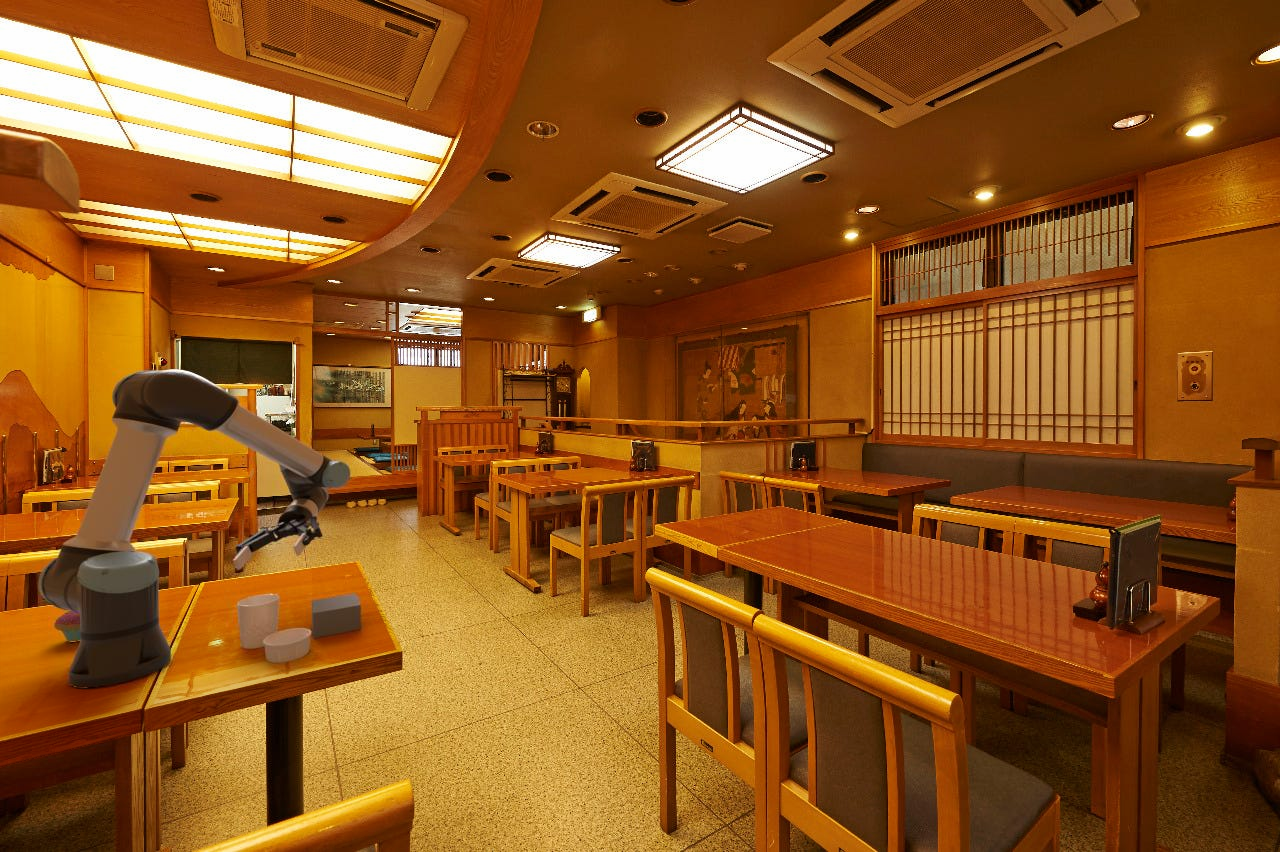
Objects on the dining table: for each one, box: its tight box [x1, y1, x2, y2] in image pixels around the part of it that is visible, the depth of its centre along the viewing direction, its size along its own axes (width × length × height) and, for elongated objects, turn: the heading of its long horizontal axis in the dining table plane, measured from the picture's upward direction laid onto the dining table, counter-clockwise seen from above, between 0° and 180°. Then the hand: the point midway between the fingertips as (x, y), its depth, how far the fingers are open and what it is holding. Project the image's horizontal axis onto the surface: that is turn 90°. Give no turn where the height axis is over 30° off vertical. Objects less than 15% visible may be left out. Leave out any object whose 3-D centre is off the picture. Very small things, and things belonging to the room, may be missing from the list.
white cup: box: [236, 593, 280, 650], centre depth 124 cm, size 8×8×10 cm
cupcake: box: [53, 610, 81, 641], centre depth 126 cm, size 9×8×12 cm
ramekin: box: [263, 627, 313, 664], centre depth 118 cm, size 9×9×4 cm
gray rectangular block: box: [311, 593, 362, 639], centre depth 133 cm, size 10×10×6 cm
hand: (266, 557), depth 132 cm, fingers open, 13 cm apart
